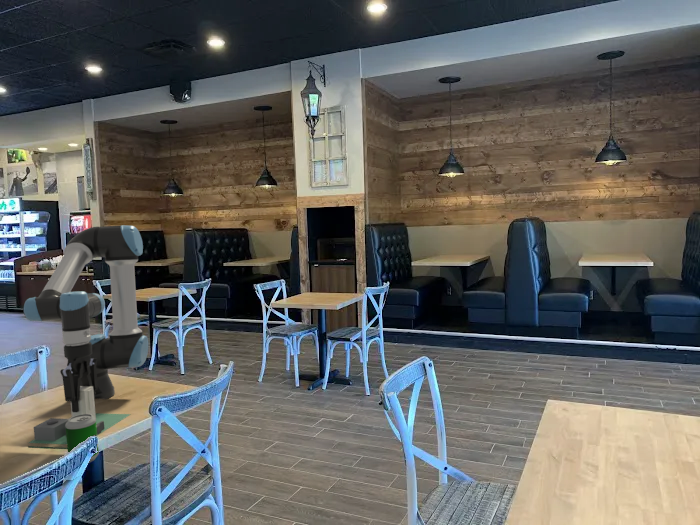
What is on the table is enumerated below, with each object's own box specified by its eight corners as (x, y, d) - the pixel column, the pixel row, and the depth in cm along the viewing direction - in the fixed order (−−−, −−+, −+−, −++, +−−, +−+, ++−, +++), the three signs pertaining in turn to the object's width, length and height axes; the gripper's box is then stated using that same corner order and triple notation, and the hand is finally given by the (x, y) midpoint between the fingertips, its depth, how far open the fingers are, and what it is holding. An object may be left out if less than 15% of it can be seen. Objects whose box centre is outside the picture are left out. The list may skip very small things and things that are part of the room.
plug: (81, 417, 162) (78, 386, 162) (97, 418, 161) (94, 386, 161) (72, 422, 158) (69, 390, 158) (88, 423, 157) (85, 390, 157)
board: (83, 417, 179) (81, 399, 178) (131, 418, 175) (129, 400, 175) (28, 447, 155) (26, 427, 155) (82, 449, 152) (80, 429, 151)
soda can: (86, 467, 141) (82, 423, 140) (62, 465, 142) (58, 422, 141) (105, 454, 148) (101, 413, 147) (81, 453, 149) (78, 412, 149)
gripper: (68, 350, 149) (75, 430, 151) (106, 336, 166) (112, 409, 168) (45, 350, 151) (52, 429, 152) (85, 337, 167) (91, 408, 169)
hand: (84, 418), depth 160 cm, fingers closed on plug, 4 cm apart
